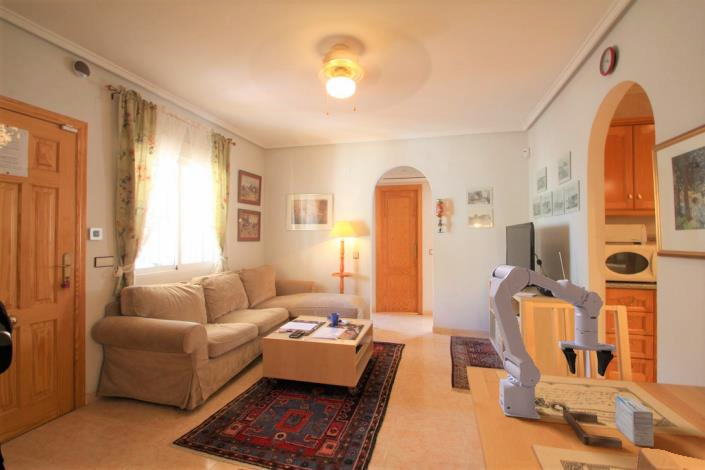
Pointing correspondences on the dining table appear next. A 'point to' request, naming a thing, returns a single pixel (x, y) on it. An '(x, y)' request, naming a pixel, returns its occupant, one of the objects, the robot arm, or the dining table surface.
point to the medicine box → (634, 421)
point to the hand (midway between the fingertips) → (586, 373)
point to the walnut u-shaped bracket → (587, 438)
